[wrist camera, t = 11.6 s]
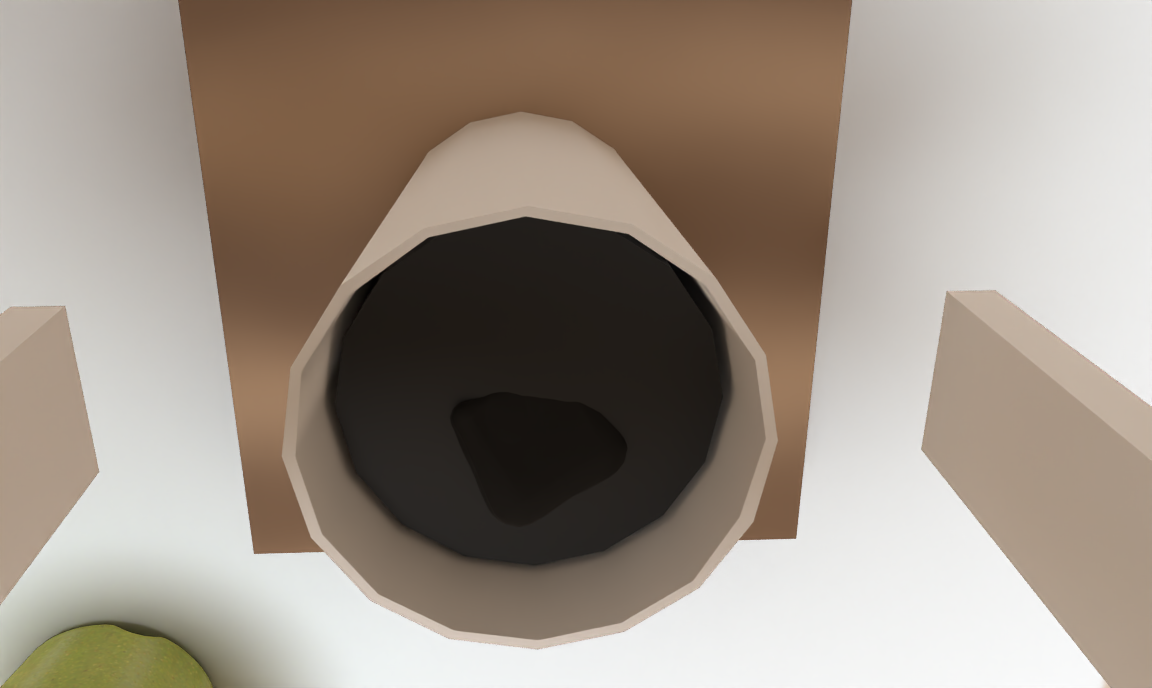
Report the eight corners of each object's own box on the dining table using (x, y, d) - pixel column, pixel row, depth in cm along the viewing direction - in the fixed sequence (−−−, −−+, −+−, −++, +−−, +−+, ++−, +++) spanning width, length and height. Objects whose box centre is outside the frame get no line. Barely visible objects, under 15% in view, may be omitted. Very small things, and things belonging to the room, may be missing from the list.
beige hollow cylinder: (709, 310, 24) (839, 550, 14) (453, 414, 24) (418, 709, 15) (604, 40, 21) (678, 119, 12) (322, 164, 22) (182, 331, 12)
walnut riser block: (215, -131, 23) (158, -145, 19) (811, -126, 24) (865, -138, 20) (286, 475, 29) (254, 553, 25) (760, 464, 30) (796, 538, 26)
